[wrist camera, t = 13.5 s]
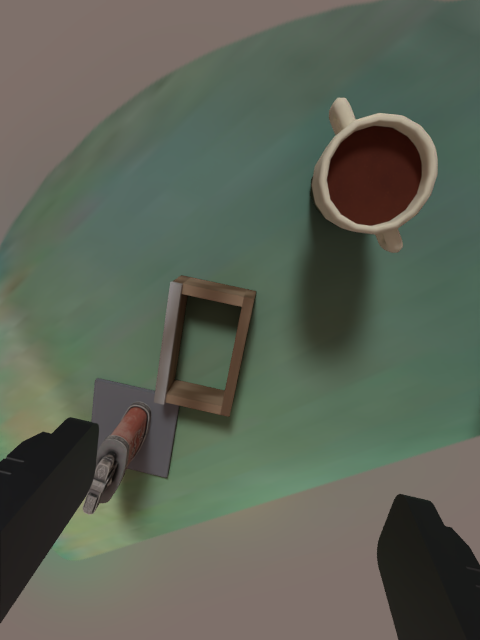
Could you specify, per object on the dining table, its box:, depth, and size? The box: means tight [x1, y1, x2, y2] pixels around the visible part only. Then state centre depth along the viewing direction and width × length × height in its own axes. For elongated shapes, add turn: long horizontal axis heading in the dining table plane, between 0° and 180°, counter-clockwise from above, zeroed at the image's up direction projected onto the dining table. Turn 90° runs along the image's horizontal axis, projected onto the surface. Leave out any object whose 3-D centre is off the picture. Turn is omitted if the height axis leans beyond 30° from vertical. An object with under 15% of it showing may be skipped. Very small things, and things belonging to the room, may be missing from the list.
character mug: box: [310, 98, 438, 253], centre depth 29 cm, size 11×7×13 cm, turn 26°
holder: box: [154, 275, 256, 417], centre depth 39 cm, size 8×13×4 cm, turn 169°
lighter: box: [83, 402, 151, 514], centre depth 40 cm, size 8×3×10 cm, turn 158°
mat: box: [92, 378, 179, 478], centre depth 45 cm, size 10×11×1 cm
